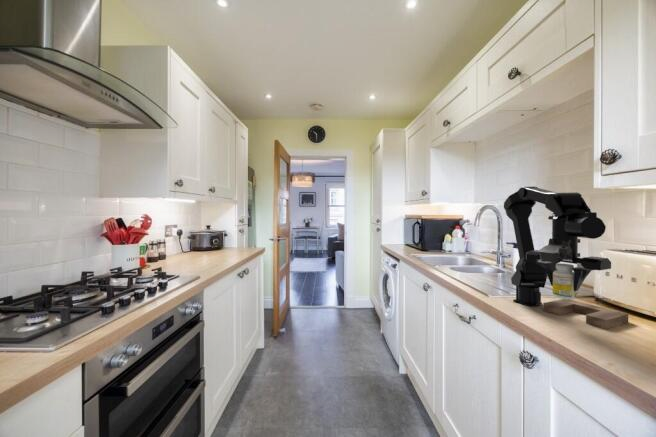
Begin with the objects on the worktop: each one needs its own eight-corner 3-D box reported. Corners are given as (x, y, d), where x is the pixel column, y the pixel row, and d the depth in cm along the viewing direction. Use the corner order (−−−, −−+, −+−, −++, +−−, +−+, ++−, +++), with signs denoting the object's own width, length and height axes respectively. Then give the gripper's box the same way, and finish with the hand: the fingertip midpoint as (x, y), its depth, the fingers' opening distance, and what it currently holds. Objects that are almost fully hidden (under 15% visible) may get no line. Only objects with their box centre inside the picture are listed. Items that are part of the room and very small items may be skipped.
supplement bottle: (564, 300, 79) (564, 266, 78) (547, 294, 84) (547, 263, 84) (581, 299, 79) (581, 266, 79) (563, 293, 85) (564, 262, 84)
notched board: (543, 310, 92) (543, 303, 92) (565, 305, 97) (565, 298, 97) (605, 329, 78) (606, 320, 78) (628, 322, 82) (628, 313, 82)
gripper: (514, 234, 87) (514, 283, 87) (588, 239, 70) (587, 301, 70) (537, 232, 91) (536, 280, 91) (612, 237, 74) (611, 295, 74)
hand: (564, 288), depth 82 cm, fingers closed on supplement bottle, 5 cm apart
